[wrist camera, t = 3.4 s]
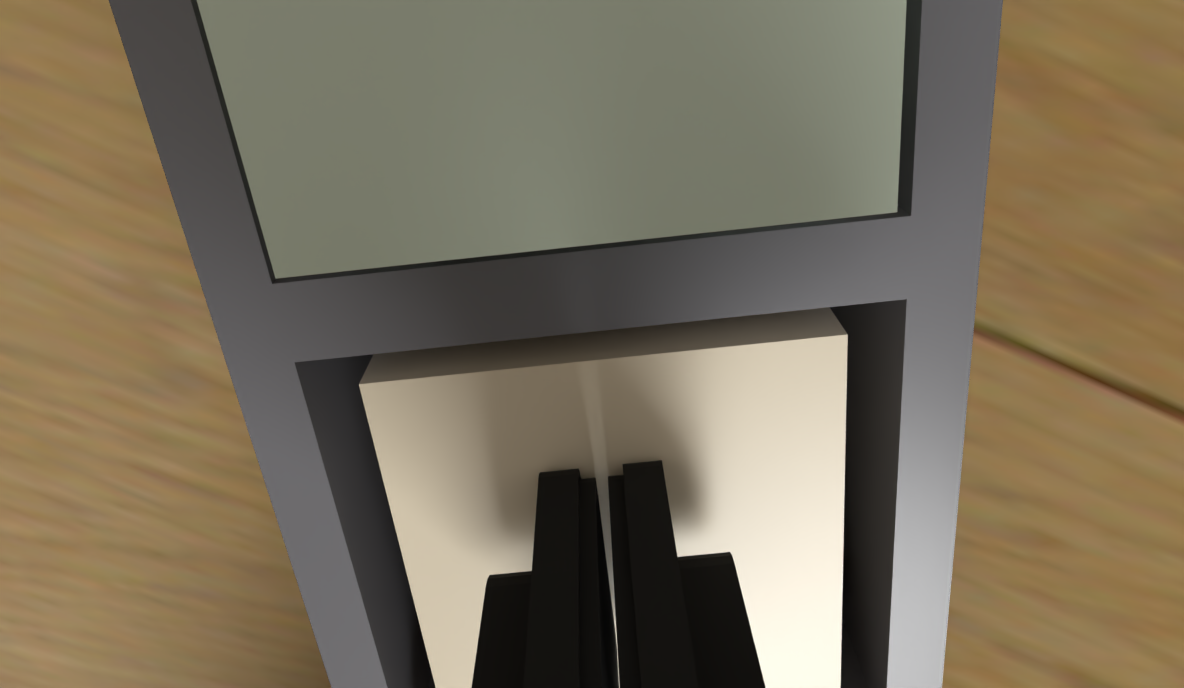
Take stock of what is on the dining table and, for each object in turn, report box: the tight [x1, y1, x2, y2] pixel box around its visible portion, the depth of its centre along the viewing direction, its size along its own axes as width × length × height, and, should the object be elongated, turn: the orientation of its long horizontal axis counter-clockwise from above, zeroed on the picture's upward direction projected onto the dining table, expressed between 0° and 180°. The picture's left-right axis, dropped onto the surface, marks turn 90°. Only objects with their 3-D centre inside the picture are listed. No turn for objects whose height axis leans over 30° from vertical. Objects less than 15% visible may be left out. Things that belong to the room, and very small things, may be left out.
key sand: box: [359, 307, 848, 688], centre depth 14 cm, size 6×6×4 cm
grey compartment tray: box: [109, 0, 1003, 688], centre depth 14 cm, size 9×25×6 cm, turn 6°
